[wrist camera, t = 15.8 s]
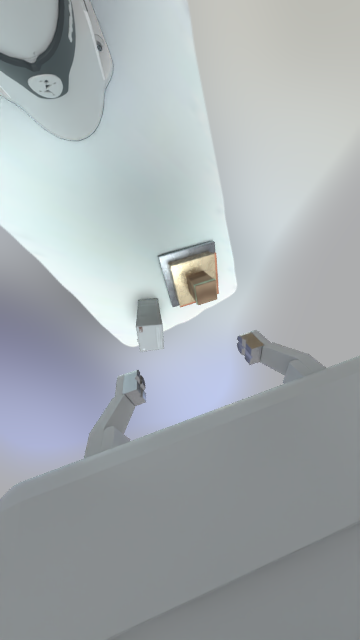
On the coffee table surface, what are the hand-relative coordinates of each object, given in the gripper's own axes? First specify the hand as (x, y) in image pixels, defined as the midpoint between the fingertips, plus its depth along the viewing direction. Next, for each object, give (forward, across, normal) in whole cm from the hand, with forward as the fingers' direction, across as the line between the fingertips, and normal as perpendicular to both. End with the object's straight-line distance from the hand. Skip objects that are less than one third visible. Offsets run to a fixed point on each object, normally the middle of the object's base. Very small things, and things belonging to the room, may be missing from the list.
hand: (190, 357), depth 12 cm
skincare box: (+37, +6, +15) cm, 41 cm away
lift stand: (+37, -10, +8) cm, 39 cm away
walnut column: (+31, -10, +8) cm, 34 cm away
